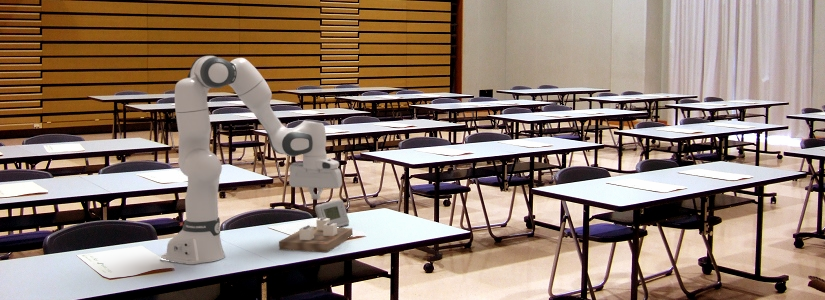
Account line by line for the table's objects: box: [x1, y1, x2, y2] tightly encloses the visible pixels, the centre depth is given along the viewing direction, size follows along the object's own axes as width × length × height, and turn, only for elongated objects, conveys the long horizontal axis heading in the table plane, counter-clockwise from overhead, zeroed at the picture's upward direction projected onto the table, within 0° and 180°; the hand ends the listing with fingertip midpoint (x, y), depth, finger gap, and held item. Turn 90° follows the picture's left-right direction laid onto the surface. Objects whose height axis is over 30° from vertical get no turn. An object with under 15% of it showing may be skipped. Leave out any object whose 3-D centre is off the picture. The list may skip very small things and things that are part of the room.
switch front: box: [298, 225, 315, 240], centre depth 311 cm, size 4×4×5 cm
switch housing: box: [278, 226, 354, 253], centre depth 319 cm, size 19×26×3 cm
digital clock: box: [314, 199, 350, 228], centre depth 344 cm, size 16×9×11 cm, turn 132°
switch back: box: [316, 217, 330, 231], centre depth 327 cm, size 4×4×5 cm
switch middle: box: [323, 222, 337, 236], centre depth 317 cm, size 4×4×5 cm
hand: (315, 199), depth 317 cm, fingers closed
